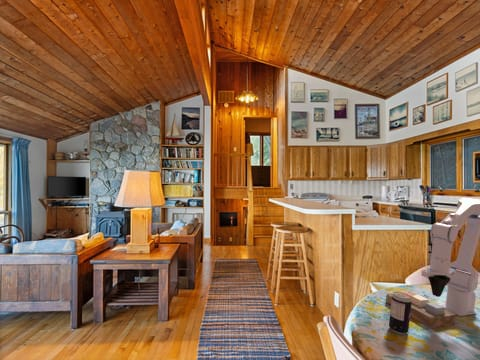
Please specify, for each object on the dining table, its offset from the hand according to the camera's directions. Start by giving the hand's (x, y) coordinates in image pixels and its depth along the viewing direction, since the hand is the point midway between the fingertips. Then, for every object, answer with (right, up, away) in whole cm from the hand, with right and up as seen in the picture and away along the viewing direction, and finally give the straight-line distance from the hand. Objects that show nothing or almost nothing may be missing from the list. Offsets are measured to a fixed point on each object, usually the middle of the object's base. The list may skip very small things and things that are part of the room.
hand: (436, 295), depth 106 cm
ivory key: (-3, -6, +6) cm, 9 cm away
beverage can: (-18, -9, -8) cm, 21 cm away
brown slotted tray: (-3, -9, +6) cm, 11 cm away
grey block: (0, -6, 0) cm, 6 cm away
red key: (-5, -6, +12) cm, 14 cm away
